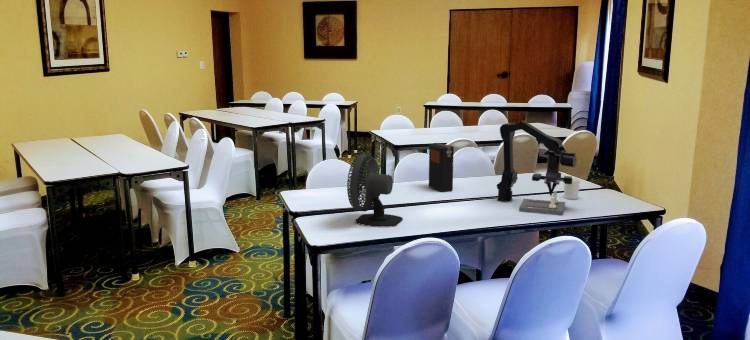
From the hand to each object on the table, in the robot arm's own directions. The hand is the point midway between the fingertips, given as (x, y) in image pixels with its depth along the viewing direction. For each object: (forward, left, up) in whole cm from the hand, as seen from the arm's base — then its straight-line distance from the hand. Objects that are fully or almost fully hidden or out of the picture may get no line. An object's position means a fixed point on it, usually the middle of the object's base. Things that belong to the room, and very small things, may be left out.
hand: (550, 195), depth 296 cm
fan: (-74, -53, -6) cm, 91 cm away
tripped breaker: (+2, 0, -3) cm, 4 cm away
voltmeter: (-60, +18, -6) cm, 63 cm away
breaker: (+2, -10, -3) cm, 11 cm away
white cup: (+9, +22, -6) cm, 24 cm away
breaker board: (-3, -5, -6) cm, 8 cm away
